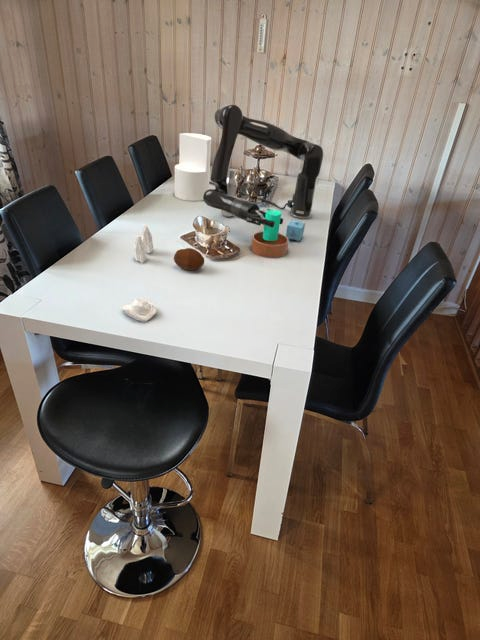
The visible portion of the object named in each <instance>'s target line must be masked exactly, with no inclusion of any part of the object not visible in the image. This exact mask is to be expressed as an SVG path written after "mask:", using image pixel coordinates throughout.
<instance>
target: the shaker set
mask: <svg viewBox="0 0 480 640" xmlns="http://www.w3.org/2000/svg"><path fill="white" fill-rule="evenodd" d="M140 235H141V236H140ZM152 235H153V234H151V231H150V228H149V227H148V225H147V224H144V225H143V228H142V232H141V234H137V235H136V237H135V240H134V242H133V243H134V244H133V247H134V256H135V261H136V262H140V263H141V264H144V263H145V261H147V254H151V253H153V252H154V244H153V236H152Z"/></svg>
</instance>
